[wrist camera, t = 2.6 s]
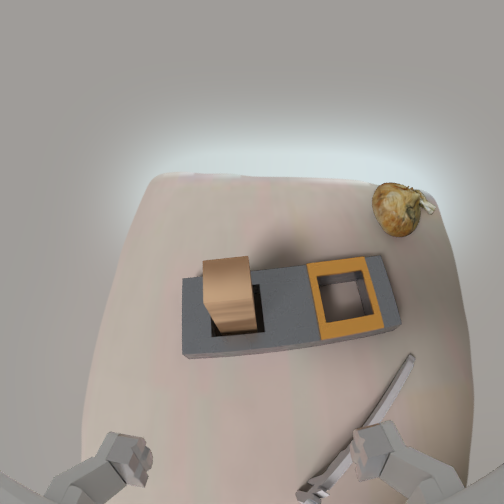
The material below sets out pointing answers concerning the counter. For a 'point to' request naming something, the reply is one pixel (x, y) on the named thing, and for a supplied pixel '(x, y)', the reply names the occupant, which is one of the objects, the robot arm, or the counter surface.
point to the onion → (399, 208)
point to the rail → (293, 309)
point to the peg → (230, 295)
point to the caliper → (344, 460)
